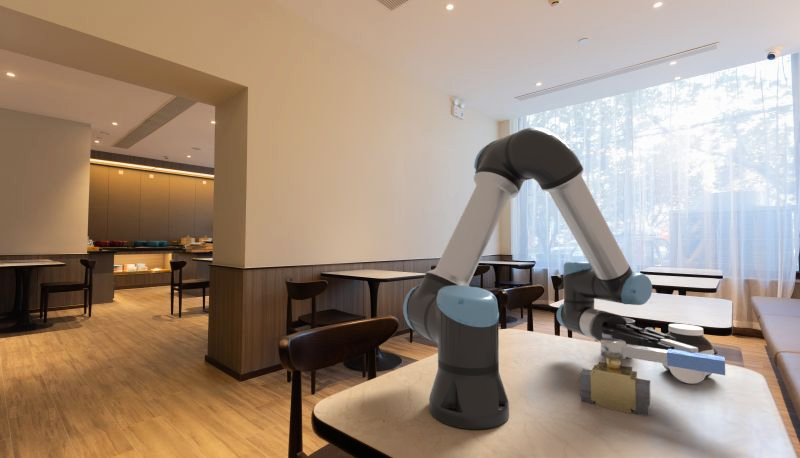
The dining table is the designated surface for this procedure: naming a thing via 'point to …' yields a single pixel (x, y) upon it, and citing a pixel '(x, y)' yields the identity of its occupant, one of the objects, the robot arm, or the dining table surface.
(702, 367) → the lever
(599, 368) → the valve body
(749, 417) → the dining table surface
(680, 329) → the spread jar
